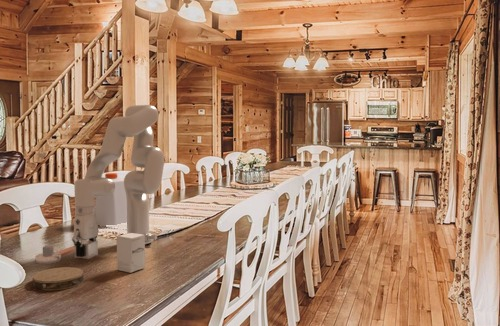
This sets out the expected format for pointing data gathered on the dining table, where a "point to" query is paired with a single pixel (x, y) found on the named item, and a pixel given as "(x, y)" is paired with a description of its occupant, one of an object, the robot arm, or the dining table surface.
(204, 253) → the dining table surface
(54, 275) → the tambourine
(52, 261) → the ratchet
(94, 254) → the white cube
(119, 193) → the plastic bottle
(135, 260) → the supplement box
